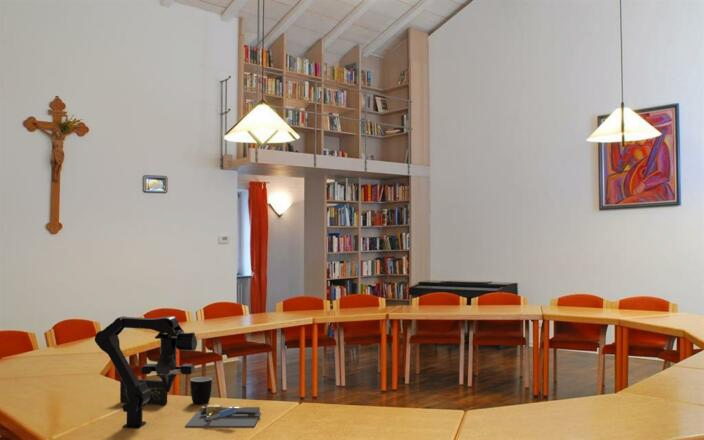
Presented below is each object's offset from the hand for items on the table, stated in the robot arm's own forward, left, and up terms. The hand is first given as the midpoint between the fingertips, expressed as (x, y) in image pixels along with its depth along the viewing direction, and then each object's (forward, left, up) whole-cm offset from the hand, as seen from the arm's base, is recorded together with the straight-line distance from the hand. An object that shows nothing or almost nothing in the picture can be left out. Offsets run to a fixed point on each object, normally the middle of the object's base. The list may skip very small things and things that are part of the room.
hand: (168, 391), depth 233 cm
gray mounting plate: (+10, -19, -13) cm, 25 cm away
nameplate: (+30, +23, -13) cm, 40 cm away
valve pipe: (+10, -20, -12) cm, 26 cm away
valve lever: (+3, -14, -10) cm, 18 cm away
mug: (+32, -1, -13) cm, 35 cm away
